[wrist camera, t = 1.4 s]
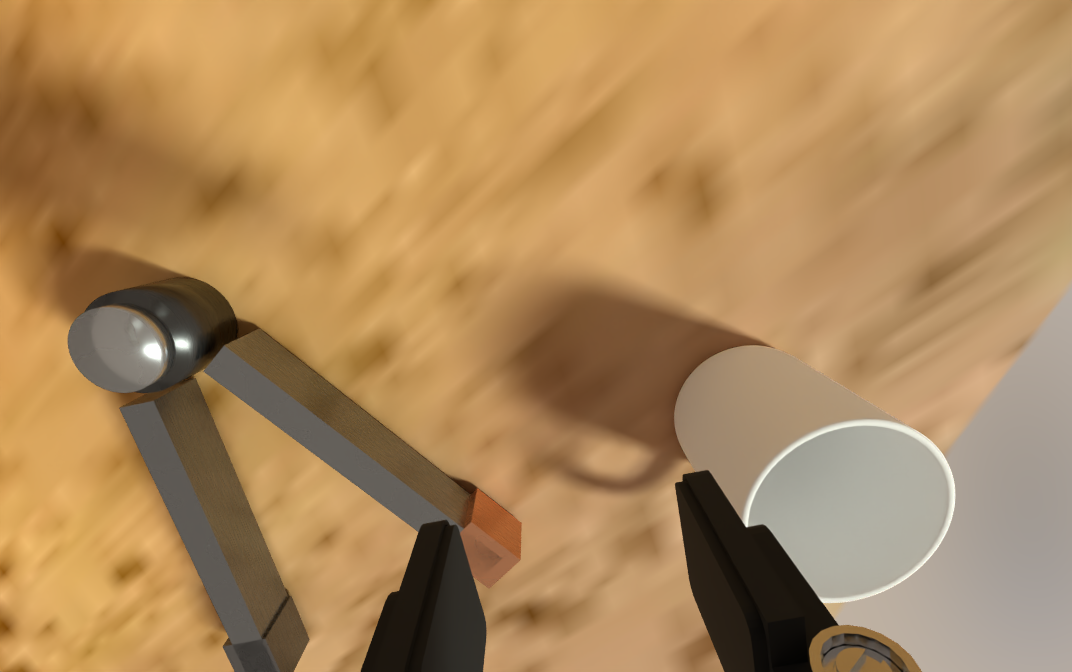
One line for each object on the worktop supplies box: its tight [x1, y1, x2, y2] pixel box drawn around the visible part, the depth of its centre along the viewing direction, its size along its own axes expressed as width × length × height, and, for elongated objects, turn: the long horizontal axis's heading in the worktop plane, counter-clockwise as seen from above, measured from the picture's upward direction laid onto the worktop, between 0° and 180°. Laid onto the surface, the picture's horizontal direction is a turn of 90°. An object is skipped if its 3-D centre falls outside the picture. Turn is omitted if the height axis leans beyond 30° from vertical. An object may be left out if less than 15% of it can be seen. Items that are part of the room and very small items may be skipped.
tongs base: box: [85, 278, 310, 672], centre depth 28 cm, size 24×6×4 cm, turn 12°
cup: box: [674, 345, 955, 603], centre depth 25 cm, size 8×12×10 cm
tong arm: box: [68, 303, 521, 588], centre depth 26 cm, size 24×5×5 cm, turn 47°
